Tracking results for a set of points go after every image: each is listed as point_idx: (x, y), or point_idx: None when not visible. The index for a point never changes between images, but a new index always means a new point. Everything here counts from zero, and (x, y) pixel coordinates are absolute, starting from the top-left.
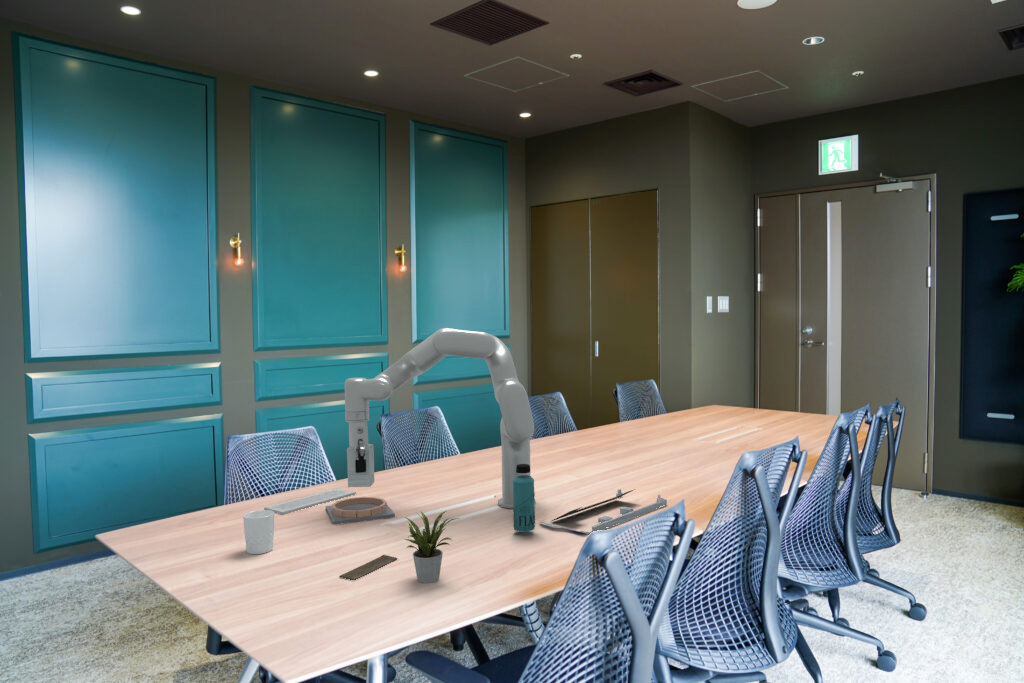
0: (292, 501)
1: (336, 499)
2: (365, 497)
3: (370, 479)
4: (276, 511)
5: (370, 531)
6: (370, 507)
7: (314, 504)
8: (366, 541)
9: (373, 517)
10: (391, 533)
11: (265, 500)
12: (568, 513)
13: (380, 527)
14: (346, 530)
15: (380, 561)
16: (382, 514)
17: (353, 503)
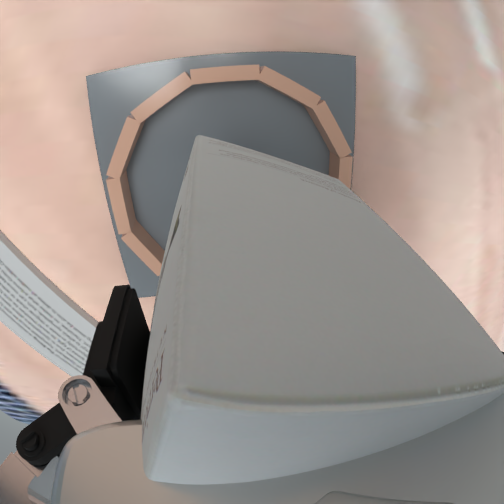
0: (70, 367)
1: (26, 259)
2: (122, 160)
3: (347, 190)
4: None
5: (449, 173)
6: (207, 134)
7: (92, 322)
8: (495, 197)
9: (353, 141)
10: (484, 127)
11: (44, 396)
12: None
13: (433, 138)
14: (408, 234)
15: None
16: (343, 103)
17: (131, 206)
